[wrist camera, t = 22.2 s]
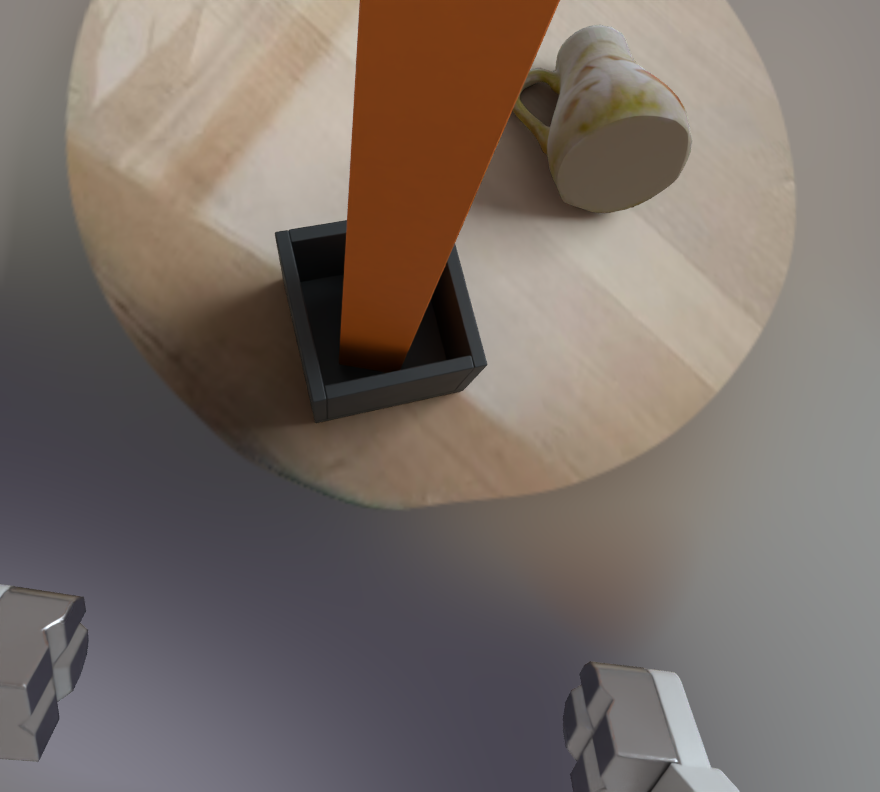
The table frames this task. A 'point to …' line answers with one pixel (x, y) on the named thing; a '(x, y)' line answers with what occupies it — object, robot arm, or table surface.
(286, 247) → the bin
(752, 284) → the table surface
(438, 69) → the block
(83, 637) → the robot arm
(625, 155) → the mug
